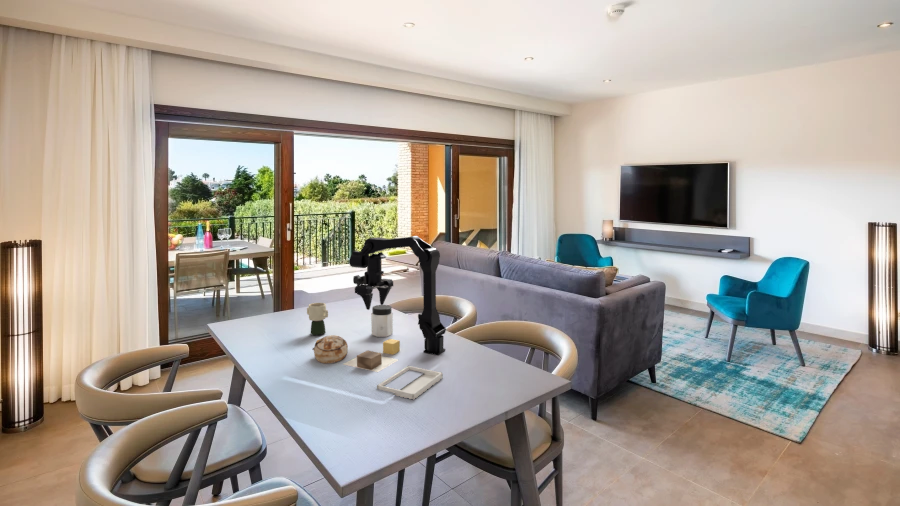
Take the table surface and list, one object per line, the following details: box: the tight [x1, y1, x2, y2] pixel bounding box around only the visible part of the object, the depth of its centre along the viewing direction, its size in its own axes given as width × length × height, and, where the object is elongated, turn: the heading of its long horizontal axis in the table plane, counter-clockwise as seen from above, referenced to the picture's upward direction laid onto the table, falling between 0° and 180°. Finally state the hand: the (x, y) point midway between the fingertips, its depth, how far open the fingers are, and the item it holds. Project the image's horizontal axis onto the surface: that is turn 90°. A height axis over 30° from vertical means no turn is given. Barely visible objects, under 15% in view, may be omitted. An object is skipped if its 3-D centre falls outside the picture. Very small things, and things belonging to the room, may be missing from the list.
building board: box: [342, 355, 399, 373], centre depth 163 cm, size 15×13×1 cm
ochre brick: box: [382, 338, 401, 355], centre depth 173 cm, size 4×4×5 cm
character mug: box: [306, 302, 329, 336], centre depth 195 cm, size 11×7×13 cm, turn 66°
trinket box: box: [312, 334, 349, 364], centre depth 168 cm, size 13×15×8 cm
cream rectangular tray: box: [376, 365, 443, 401], centre depth 146 cm, size 13×18×2 cm
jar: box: [370, 304, 394, 338], centre depth 196 cm, size 9×8×12 cm
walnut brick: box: [356, 350, 383, 371], centre depth 159 cm, size 6×6×4 cm
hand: (375, 307), depth 186 cm, fingers open, 9 cm apart
